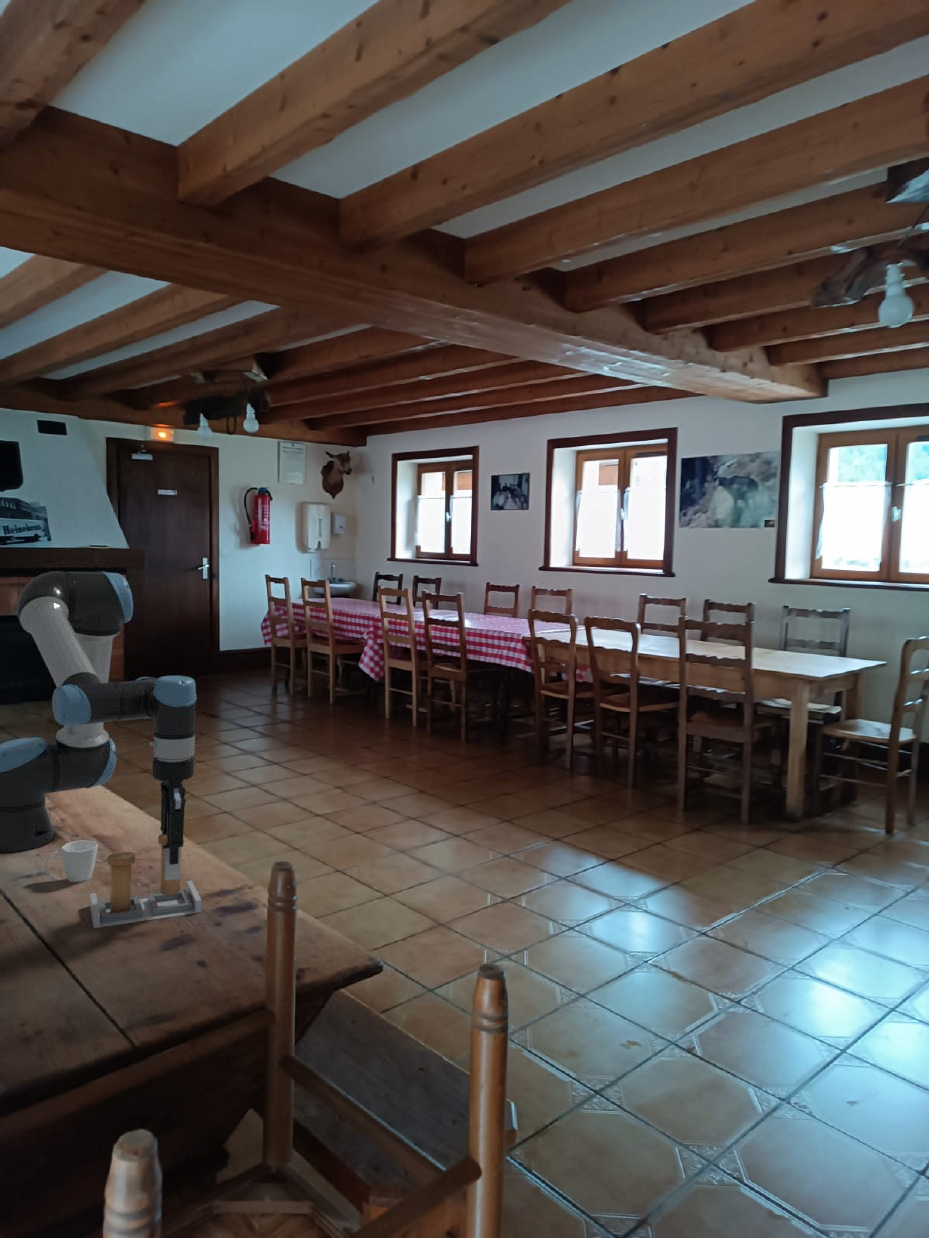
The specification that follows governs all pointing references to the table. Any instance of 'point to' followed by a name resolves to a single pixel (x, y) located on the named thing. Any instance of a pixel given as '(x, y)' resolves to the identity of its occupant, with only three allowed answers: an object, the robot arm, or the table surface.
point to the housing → (147, 907)
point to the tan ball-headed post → (168, 885)
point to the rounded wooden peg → (120, 881)
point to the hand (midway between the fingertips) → (170, 874)
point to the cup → (77, 860)
